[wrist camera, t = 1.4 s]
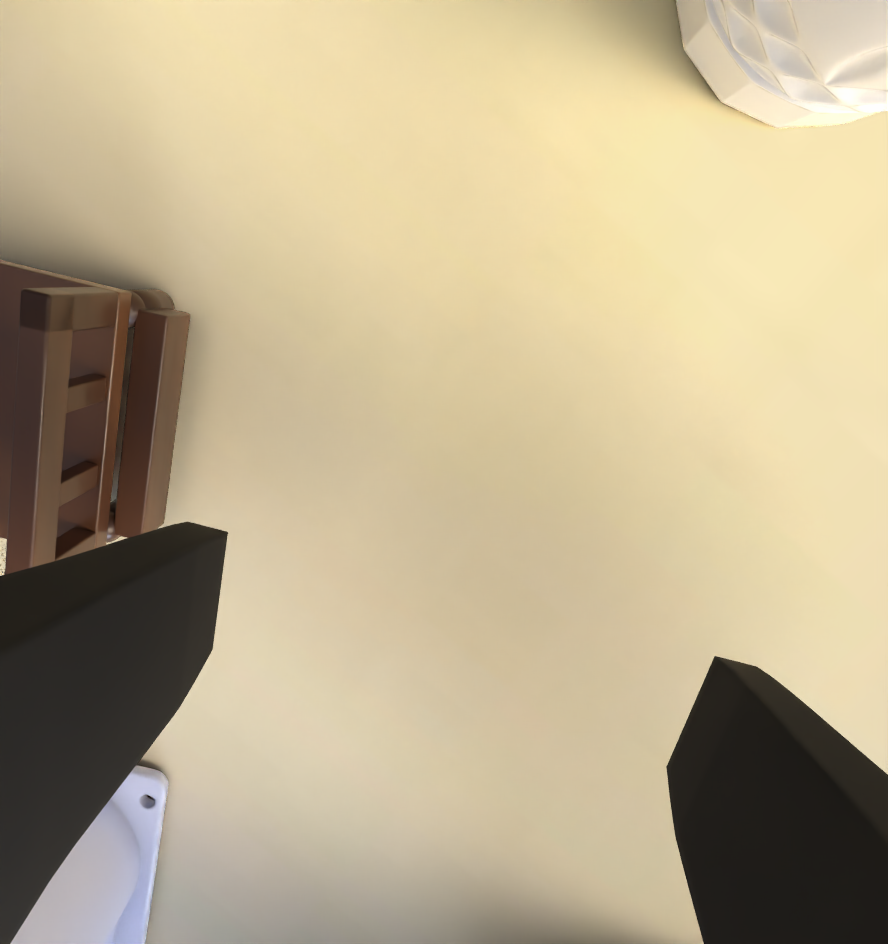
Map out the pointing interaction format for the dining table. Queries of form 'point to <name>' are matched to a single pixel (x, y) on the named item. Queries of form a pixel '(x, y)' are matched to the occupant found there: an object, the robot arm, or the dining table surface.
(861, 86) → the white cup
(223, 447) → the dining table surface
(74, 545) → the chair
